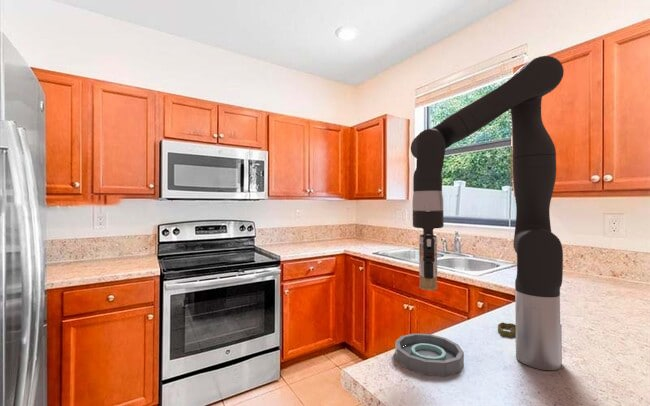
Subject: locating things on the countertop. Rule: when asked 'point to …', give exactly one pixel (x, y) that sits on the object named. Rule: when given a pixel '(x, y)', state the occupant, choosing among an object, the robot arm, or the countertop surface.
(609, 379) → the countertop surface
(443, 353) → the grey ring dish
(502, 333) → the cookie cutter
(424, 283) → the sprinkles bottle
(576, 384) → the countertop surface
